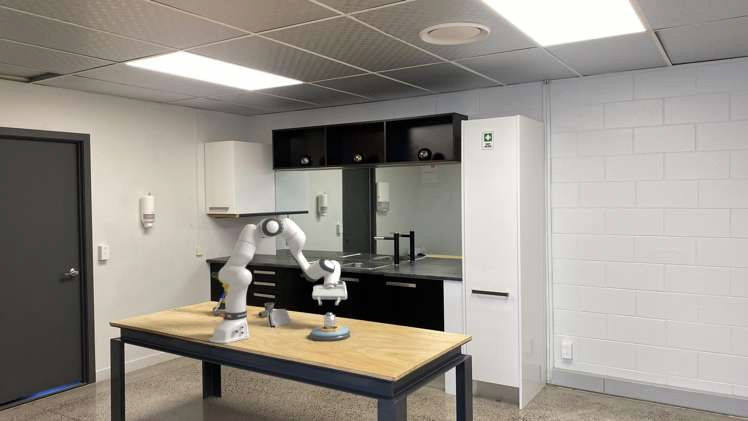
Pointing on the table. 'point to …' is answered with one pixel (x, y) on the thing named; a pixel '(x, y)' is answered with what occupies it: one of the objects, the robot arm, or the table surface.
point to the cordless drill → (221, 304)
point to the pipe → (266, 309)
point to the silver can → (329, 321)
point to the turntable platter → (330, 331)
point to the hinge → (278, 318)
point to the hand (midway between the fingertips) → (328, 304)
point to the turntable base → (329, 338)
